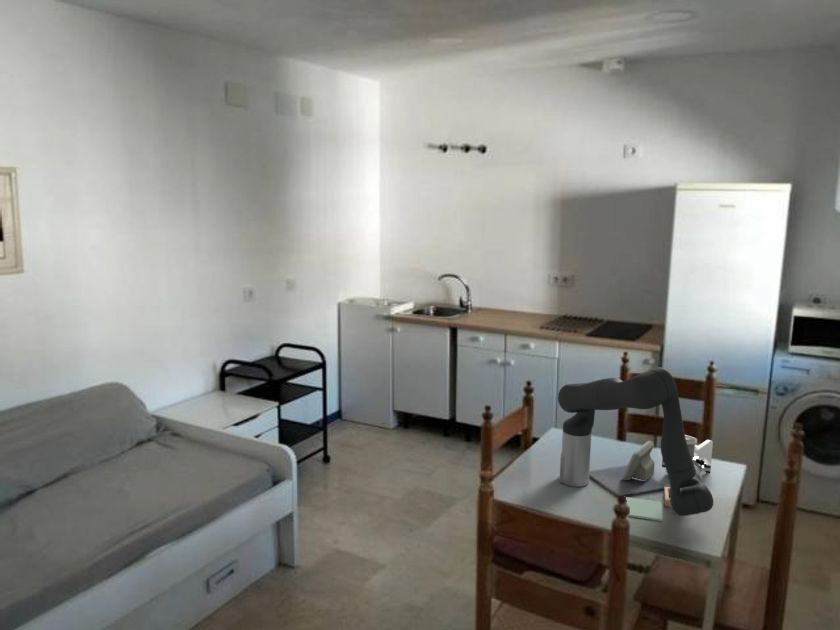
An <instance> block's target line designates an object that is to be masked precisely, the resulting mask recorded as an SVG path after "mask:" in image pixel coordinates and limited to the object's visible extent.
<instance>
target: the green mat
mask: <svg viewBox="0 0 840 630" xmlns="http://www.w3.org/2000/svg"><path fill="white" fill-rule="evenodd" d="M625 497H626V500H627V504H628V506H629V507H630V515H629V516H628V517H630V518H631V517H632V518H639V519H644V520H649V521H650V520H651V521H657V522H664V521H663V518H664V517H663V504H662V501H658V500H649V499H643V498H636V497H635V498H634V497H627V496H625Z"/></svg>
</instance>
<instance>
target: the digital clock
mask: <svg viewBox="0 0 840 630" xmlns="http://www.w3.org/2000/svg"><path fill="white" fill-rule="evenodd" d="M654 447H655V444H654V442H653V441H652V440H647V441H646V442H645V443H643V445H641V446H640V447H639V448H637V449H636V451H634V452H633V453H632V455H631V458H630V460H629V462H628V464H627V466H626V468H625V470H624V472H623V474H622V476H621V477H622V479H623V480H624V479H625V480H624V481H626V480H629V479H630V480H632V479H631V478H632V477H633V478H637V479H641V480H647V479H648V478H649V477H650V478H651V477H653V475H654V474H655V461H654V460H653V458H652V457H651V456H650V455H651V453H652V450H653V449H654ZM650 478H649V479H650ZM649 479H648V480H649ZM630 480H629V481H630ZM648 480H647V481H648Z"/></svg>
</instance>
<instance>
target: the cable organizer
mask: <svg viewBox="0 0 840 630" xmlns="http://www.w3.org/2000/svg"><path fill="white" fill-rule="evenodd" d="M686 435H687V434H686ZM687 436H689V435H687ZM713 444H714V443H713V440H710V439H706V440H705V441H703V442H702V443H700V444H698V445H697V444H695V450H694V452H696V454H698V457H699V458H700V459H701V458H705V459H706V460H707V461H708V462H709V463H710V465H711V466H712V456H713V448H714V447H713V446H714V445H713ZM665 472H666V473H667V470H666V469H665ZM701 474H702V477H703V476H705V475H706V474H707V473H706V472H705V471H701Z"/></svg>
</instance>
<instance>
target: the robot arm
mask: <svg viewBox="0 0 840 630" xmlns="http://www.w3.org/2000/svg"><path fill="white" fill-rule="evenodd" d="M678 393H679V392H678V388H677V383H676V381H675V378H674V376H672V374H671V372H669V370H667V369H666V368H664V367H661V366H659V367H658V366H657V367H654V368H651V369H649V370H647V371H645V372H641V373H639V374H637V375H635V376H633V377H631V378H628V379H626V380H622V379H620V378H617V377H608V378H602V379H599V380H598V379H597V380H594V381H590V382H584V383H582V382H581V383H579V382H578V383H568V384H565V385H563V386H561V388H560V389H559V392H558V395H557V401H558V405H559V406H560V408H561V409H562V410H563V411H564V412H567V413H569V414H571V413H572V414H573V413H575V414H574V415H572V416H571V417H569V418H567V419H566V420H565V421H563V424H562V434H561V435H562V437H561V439H562V440H561V453H560V461H559V463H560V464H559V466H560V467H559V479H558V480H559V481H558V483H561V484H564V485H567V486H570V487H577V488H579V487H580V488H581V487H585V486H587V485H589V482H590V469H591V468H590V466H591V452H592V451H591V450H592V436H593V435H592V432H593V427H594V423H595V415H596V411H614V410H621V409H627V408H629V409H637V410H649V409H653V408H656V407H658V406H660V405H661V408H662V413H663V424H662V425H663V426H662V432H661V439H660V453H661V457H662V458H661V459H662V461H661V467H662V468H665V471H666V470H667V472H666V474H667V476H668V480H669V487H670V494H669V496H670V497H669V499H670V501H671V506H670V508H671V509H672V510H673V512H674V513H675V514H676V515H677V516H678V517H679V516H680V517H685V516H691V515H697V514H703V513H707V512H709V511H710V510H712V509H713V506H714V498H713V495H712V493H711V490H709V488H708V487H707V486H706V485H705V484H704V483H703V476H702V474H701V471H705V472H706V474H711V469H712V464H711V465H710V463H709V462H708V461H707V460H706V459H705V458H701V459H700V458H699V457H698V454H696V452H694V457H691V454H690V451H689V448H688V445H687V442H686V438H685V435H686V434H685V429H684V421H683V416H682V409H681V405H680V399H679V394H678Z"/></svg>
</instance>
